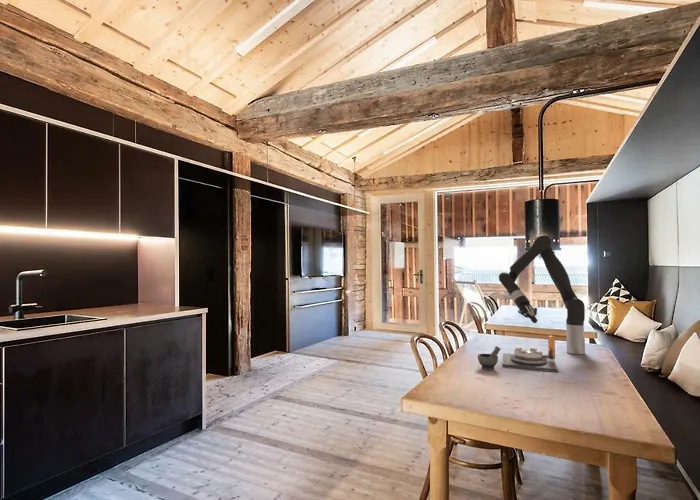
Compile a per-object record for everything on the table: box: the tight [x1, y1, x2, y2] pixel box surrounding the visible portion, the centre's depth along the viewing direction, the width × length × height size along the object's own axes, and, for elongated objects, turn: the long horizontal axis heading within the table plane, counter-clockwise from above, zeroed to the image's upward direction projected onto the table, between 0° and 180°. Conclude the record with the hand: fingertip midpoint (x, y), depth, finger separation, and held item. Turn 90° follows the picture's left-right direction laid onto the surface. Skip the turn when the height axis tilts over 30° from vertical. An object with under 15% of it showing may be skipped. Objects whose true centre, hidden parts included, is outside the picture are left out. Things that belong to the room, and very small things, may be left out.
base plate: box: [501, 352, 559, 373], centre depth 212 cm, size 26×26×3 cm
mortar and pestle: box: [477, 346, 502, 372], centre depth 201 cm, size 11×9×12 cm
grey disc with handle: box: [513, 335, 556, 361], centre depth 212 cm, size 21×14×12 cm
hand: (535, 322), depth 224 cm, fingers closed
